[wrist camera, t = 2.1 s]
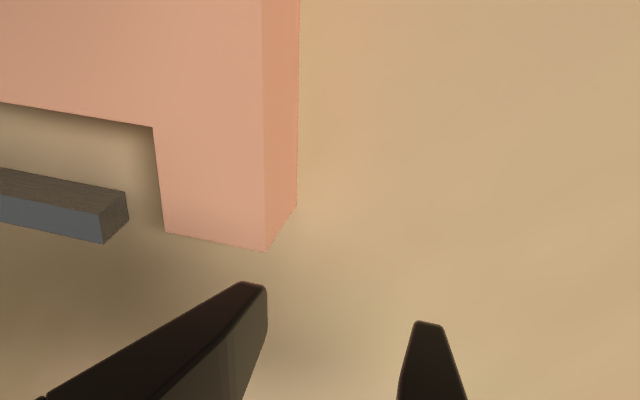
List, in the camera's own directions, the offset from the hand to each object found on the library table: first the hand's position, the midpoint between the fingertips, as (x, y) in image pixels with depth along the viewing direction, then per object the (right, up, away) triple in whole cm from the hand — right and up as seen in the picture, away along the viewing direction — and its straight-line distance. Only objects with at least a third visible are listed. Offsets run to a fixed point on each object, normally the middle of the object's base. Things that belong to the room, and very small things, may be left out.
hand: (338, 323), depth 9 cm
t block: (-7, +8, +13) cm, 17 cm away
